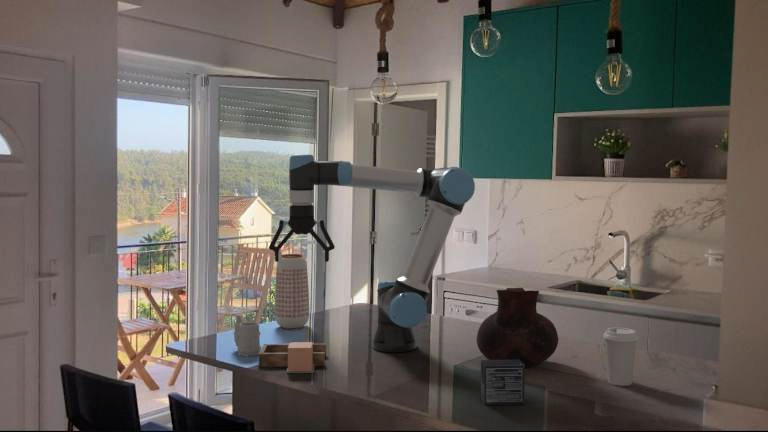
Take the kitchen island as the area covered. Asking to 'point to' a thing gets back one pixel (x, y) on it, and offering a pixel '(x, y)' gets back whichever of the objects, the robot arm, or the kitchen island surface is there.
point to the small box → (502, 382)
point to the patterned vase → (292, 292)
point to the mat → (302, 371)
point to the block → (300, 356)
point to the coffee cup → (620, 355)
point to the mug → (247, 337)
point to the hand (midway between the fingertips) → (302, 272)
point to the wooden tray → (279, 355)
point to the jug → (517, 330)
